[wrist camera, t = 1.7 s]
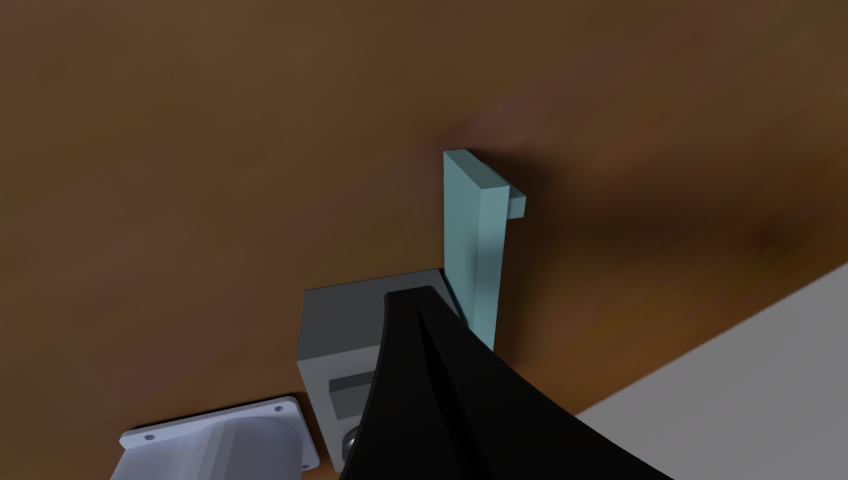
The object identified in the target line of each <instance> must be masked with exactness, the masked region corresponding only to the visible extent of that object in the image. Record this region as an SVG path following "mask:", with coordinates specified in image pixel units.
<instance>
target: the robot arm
mask: <svg viewBox="0 0 848 480" xmlns="http://www.w3.org/2000/svg"><path fill="white" fill-rule="evenodd" d="M384 304H385V311H384V324H383V332H382V338H381V343H380V349H379V355H378V359H377V364H376V368H375V372H374V376H373V380H372V383H371V387H370V391H369V395H368V398H367V401H366V405H365V408H364V411H363V415H362V418H361V421H360V424H359V427H358V430H357V433H356V436H355V438H354V441H353V444H352V446H351V449H350V452H349V455H348V457H347V460H346V463H345V465H344V468H343V471H342V473H341V476H340V478H339V480H674V479H672V478H670V477H669V476H667V475H665V474H663V473H662V472H660V471H658V470H657V469H655V468H653V467H652V466H650V465H648V464H647V463H645V462H644V461H642V460H640V459H639V458H637V457H635V456H634V455H632V454H630V453H629V452H627V451H626V450H624V449H622V448H621V447H619V446H617V445H616V444H614V443H613V442H611V441H610V440H608V439H607V438H605V437H604V436H602V435H601V434H600V433H598V432H596V431H595V430H593V429H592V428H590V427H589V426H588V425H586V424H585V423H583V422H582V421H580V420H579V419H577V418H576V417H574V416H573V415H571V414H570V413H568V412H567V411H565V410H564V409H563V408H561V407H560V406H559V405H557V404H556V403H555V402H553V401H552V400H551V399H549V398H548V397H547V396H545V395H544V394H543V393H541V392H540V391H539V390H538V389H536V388H535V387H534V386H532V385H531V384H530V383H529V382H527V381H526V380H525V379H524V378H522V377H521V376H520V375H519V374H518V373H517V372H515V371H514V370H513V369H512V368H511V367H510V366H508V365H507V364H506V363H505V362H504V361H503V360H502V359H501V358H500V357H498V356H497V355H496V354H495V353H494V352H493V351H492V350H491V349H490V348H489V347H488V346H487V345H486V344H485V343H483V342H482V341H481V340H480V339H479V338H478V337H477V335H476V334H475V333H474V332H473V331H472V330H471V329H470V328H469V327H468V326H467V325H466V324H465V323H464V322H463V321H462V320H461V319H460V318H459V317H458V316H457V314H456V313H455V312H454V311H453V310H452V309H451V308H450V306H449V305H448V304H447V303H446V302H445V301H444V299H443V298H442V297H441V296H440V294H439V293H438V292H437V290H436V289H435V288H434V287H433V286H431V285H427V286H421V287H415V288H410V289H404V290H398V291H392V292H387V293H386V294H385V295H384ZM119 442H120V444H121V445H122V446H123V447H124V448H125V449H126V450H125V452H124V454H123V456H122V458H121V460H120V462H119V464H118V466H117V468H116V470H115V471H114V473H113V475H112V477H111V479H110V480H301V474H302V471H305V470H309V469H313V468H316V467H317V466H318V465H319V462H320V458H319V455H318V453H317V450H316V448H315V445H314V443H313V440H312V437H311V435H310V432H309V430H308V427H307V425H306V422H305V420H304V417H303V414H302V412H301V409H300V407H299V404H298V402H297V399H296V398H294V397H292V396H287V397H282V398H277V399H273V400H268V401H264V402H259V403H255V404H250V405H245V406H241V407H236V408H232V409H227V410H222V411H218V412H213V413H209V414H204V415H199V416H195V417H190V418H186V419H181V420H176V421H172V422H167V423H163V424H158V425H153V426H149V427H144V428H140V429H135V430H130V431H127V432H125V433H124V434H123V435H122V437H121V439H120V441H119Z"/></svg>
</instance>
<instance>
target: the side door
mask: <svg viewBox="0 0 848 480" xmlns="http://www.w3.org/2000/svg"><path fill="white" fill-rule="evenodd" d="M525 202H526V196H525V195H524V194H522V193H521V192H520V191H519V190H518V189H516V188H515V187H514V186H513V185H511V184H510V183H509V182H508V181H506V180H505V179H504V178H503V177H502V176H500V175H499V174H498V173H497V172H495V171H494V170H493V169H492V168H491V167H489V166H488V165H487V164H486V163H484V162H480V161H479V160H478V159H477V158H476V157H474V156H473V155H472V154H471V153H470V152H468V151H467V150H466V149H461V150H451V151H444V256H445V286H446V288H447V290H448V292H449V294H450V297H451V299H452V301H453V303H454V306H455V308H456V310H457V312H458V314H459V317H460V319H461V320H462V321H463V322H464V323H465V324H466V325H467V326H468V327H469V328H470V329H471V330H472V331H473V332H474V333H475V334H476V335H477V337H478V338H479V339H480V340H481V341H482V342H483V343H485V344H486V345H487V346H488V347H489V348H490V349H491V350H492V351H493V346H494V336H495V326H496V316H497V307H498V297H499V287H500V277H501V267H502V257H503V247H504V237H505V228H506V219H513V218H520V217H524V210H525Z"/></svg>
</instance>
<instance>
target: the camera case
mask: <svg viewBox="0 0 848 480" xmlns="http://www.w3.org/2000/svg"><path fill="white" fill-rule="evenodd" d="M427 285H431V286H433V287H434V288H435V289H436V290H437V292H438V293H439V294H440V296H441V297H442V298H443V299H444V301H445V302H446V303H447V304H448V305H449V306H450V308H451V309H452V310H453V311H454V312H455V313H456V314H457V316H458V317H459V314H458V312H457V310H456V308H455V306H454V303H453V301H452V299H451V297H450V294H449V292H448V290H447V288H446V286H445V283H444V281H443V279H442V277H441V274H440V272H439V270H438V268H437V269H432V270H426V271H420V272H414V273H408V274H402V275H396V276H390V277H384V278H378V279H372V280H366V281H360V282H354V283H348V284H342V285H336V286H330V287H324V288H318V289H312V290H306V291H305V295H304V304H303V312H302V320H301V328H300V337H299V345H298V353H297V361H296V362H297V365H298V367H299V370H300V373H301V376H302V379H303V381H304V384H305V387H306V390H307V393H308V395H309V398H310V401H311V404H312V407H313V410H314V412H315V415H316V418H317V421H318V424H319V426H320V429H321V432H322V435H323V438H324V440H325V443H326V446H327V449H328V452H329V454H330V457H331V460H332V463H333V466H334V468H335V471H336V473H338V472H342V471H343V468H344V465H345V463H346V460H347V457H348V455H349V452H350V449H351V446H352V444H353V441H354V438H355V436H356V433H357V430H358V427H359V424H360V421H361V418H362V415H363V411H364V408H365V405H366V401H367V398H368V395H369V391H370V387H371V383H372V380H373V376H374V372H375V368H376V364H377V359H378V355H379V349H380V343H381V338H382V332H383V324H384V311H385V304H384V295H385V294H386V293H387V292H392V291H398V290H404V289H410V288H415V287H421V286H427ZM459 318H460V317H459Z"/></svg>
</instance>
